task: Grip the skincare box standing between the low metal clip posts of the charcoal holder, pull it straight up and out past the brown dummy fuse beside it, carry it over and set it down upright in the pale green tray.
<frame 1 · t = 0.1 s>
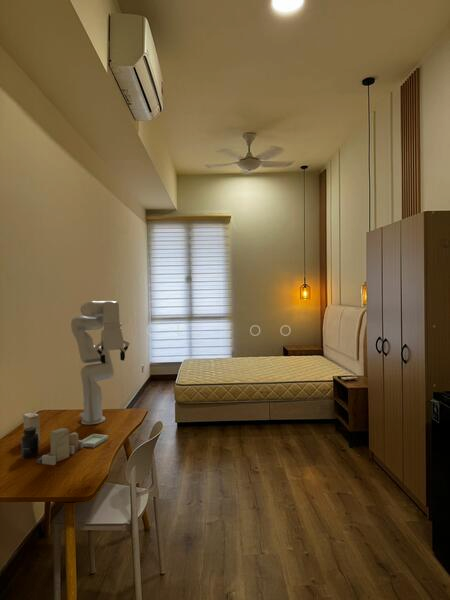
hand: (113, 361, 183), 37 cm above the table, tool pointing down, fingers open, 9 cm apart
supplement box: (32, 441, 182), on the table
dummy fuse: (73, 450, 170), on the table
tray: (93, 442, 178), on the table
supplement bottle: (30, 456, 165), on the table
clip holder: (66, 454, 165), on the table
skincare box: (60, 458, 162), on the table
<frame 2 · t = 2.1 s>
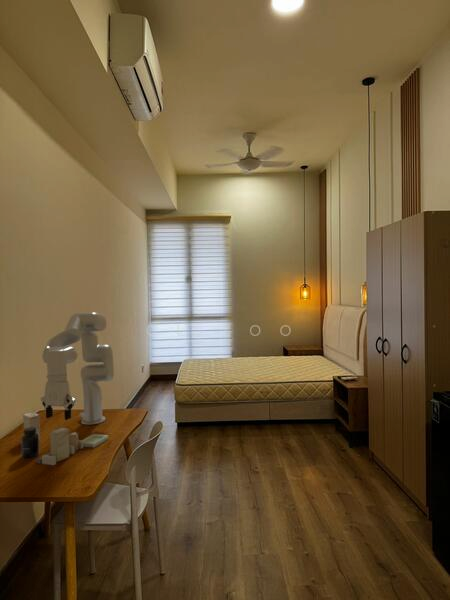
hand: (58, 418, 161), 17 cm above the table, tool pointing down, fingers open, 9 cm apart
nothing on the table moved.
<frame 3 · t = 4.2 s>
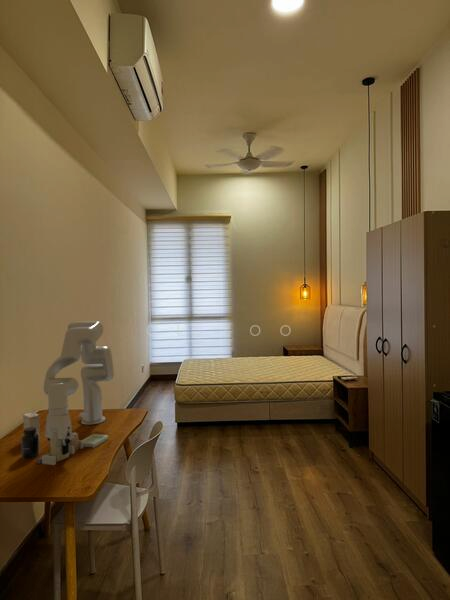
hand: (60, 452, 161), 2 cm above the table, tool pointing down, fingers closed on skincare box, 5 cm apart
skincare box: (60, 458, 162), on the table, touching gripper
everything else where it was.
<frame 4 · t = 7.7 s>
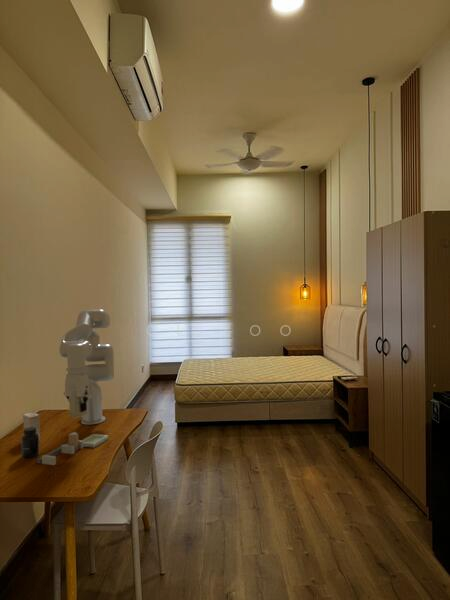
hand: (78, 410, 171), 18 cm above the table, tool pointing down, fingers closed on skincare box, 5 cm apart
skincare box: (78, 416, 171), point 15 cm above the table, touching gripper
everything else where it was.
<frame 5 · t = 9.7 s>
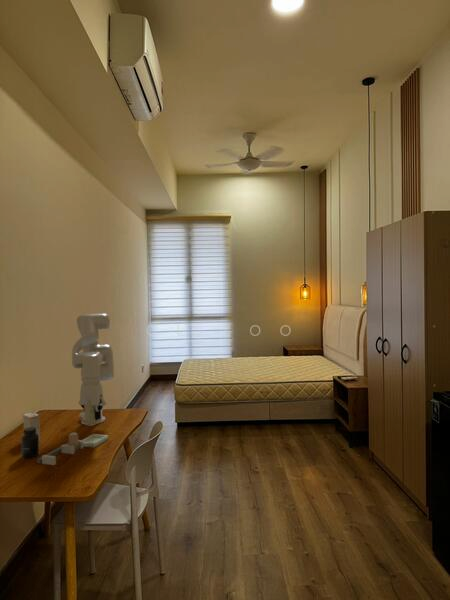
hand: (92, 418, 178), 11 cm above the table, tool pointing down, fingers closed on skincare box, 5 cm apart
skincare box: (93, 424, 178), point 9 cm above the table, touching gripper
everything else where it was.
when the fingers open (5 cm above the table, at t = 11.3 s): skincare box drops 2 cm, resting on tray.
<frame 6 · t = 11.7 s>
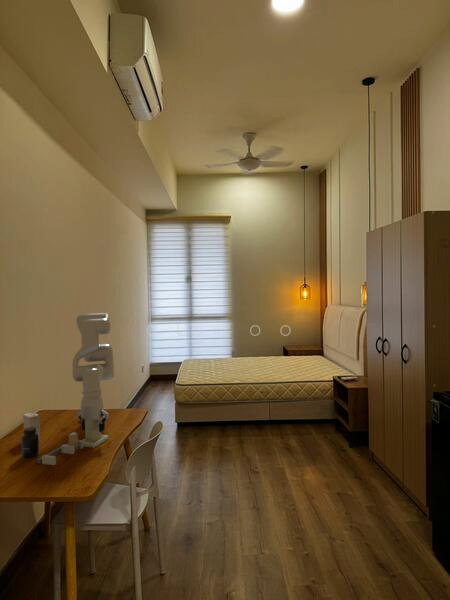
hand: (93, 430, 178), 6 cm above the table, tool pointing down, fingers open, 9 cm apart
skincare box: (93, 441, 179), resting on tray
everything else where it was.
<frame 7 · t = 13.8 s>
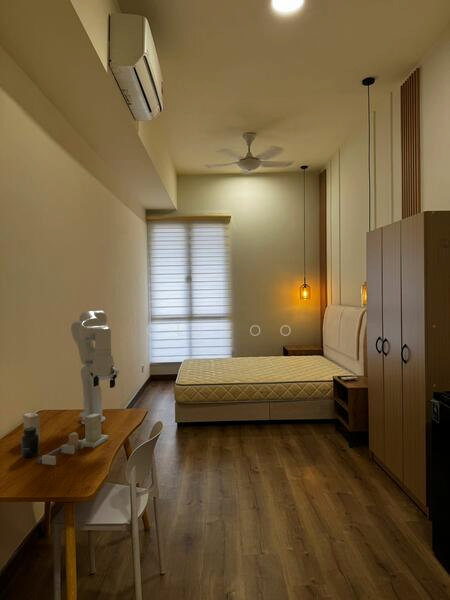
hand: (104, 386, 187), 24 cm above the table, tool pointing down, fingers open, 9 cm apart
nothing on the table moved.
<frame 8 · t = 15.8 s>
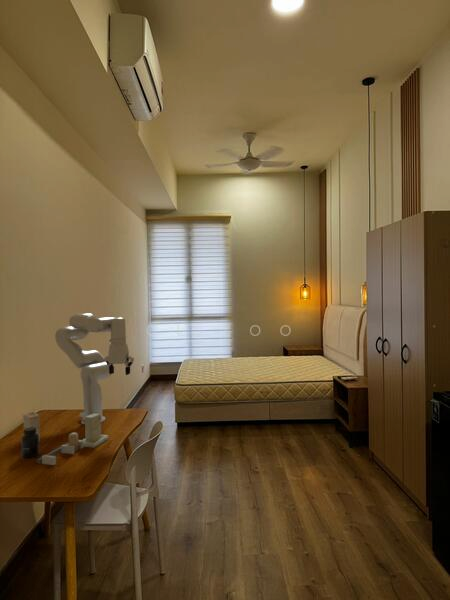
hand: (119, 374, 197), 28 cm above the table, tool pointing down, fingers open, 9 cm apart
nothing on the table moved.
at the end: skincare box inside the target area on the tray (0.4 cm from its centre), point 0.4 cm above the tray's base; skincare box tilted 0°; the gripper is holding nothing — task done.
